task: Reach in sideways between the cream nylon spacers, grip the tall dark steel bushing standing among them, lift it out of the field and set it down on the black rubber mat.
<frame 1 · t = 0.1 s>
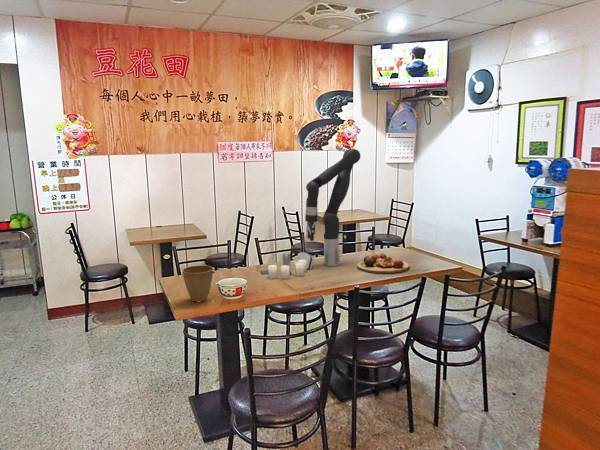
hand: (310, 239, 275), 17 cm above the table, tool pointing down, fingers open, 8 cm apart
spacer 2: (272, 277, 254), on the table
spacer 1: (299, 275, 257), on the table
spacer 3: (302, 271, 265), on the table
plant pot: (199, 300, 217), on the table
bushing: (287, 274, 260), on the table
mat: (267, 272, 265), on the table
spacer 4: (285, 278, 252), on the table
wooden plate with food: (382, 268, 270), on the table
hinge: (303, 267, 277), on the table
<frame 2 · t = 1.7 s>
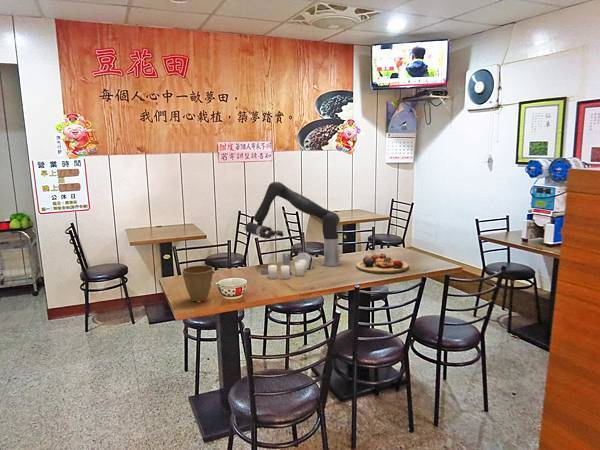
hand: (276, 235, 266), 22 cm above the table, tool horizontal, fingers open, 8 cm apart
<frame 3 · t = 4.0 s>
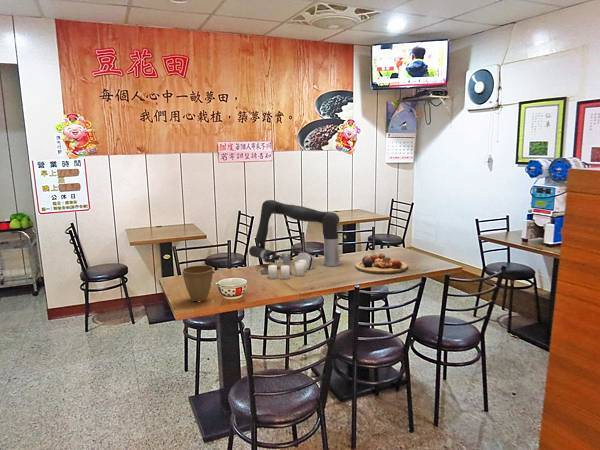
hand: (280, 260, 265), 7 cm above the table, tool horizontal, fingers open, 8 cm apart
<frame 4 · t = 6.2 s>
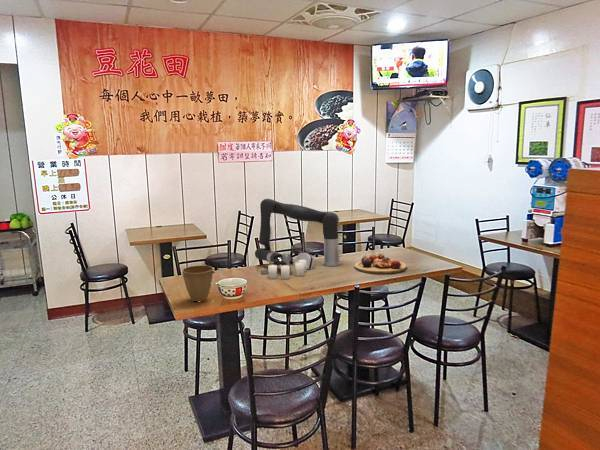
hand: (288, 263, 257), 7 cm above the table, tool horizontal, fingers closed on bushing, 4 cm apart
bushing: (287, 274, 260), on the table, touching gripper
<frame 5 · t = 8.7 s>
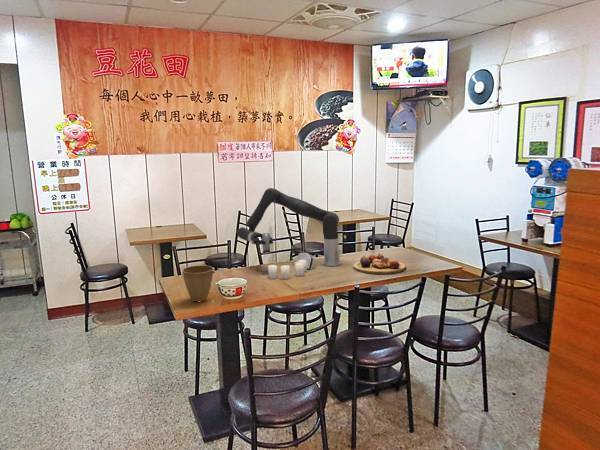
hand: (268, 242, 260), 19 cm above the table, tool horizontal, fingers closed on bushing, 4 cm apart
bushing: (266, 253, 263), point 12 cm above the table, touching gripper
when the fingers open (8 cm above the table, at t = 11.1 s): bushing stays where it is, resting on mat.
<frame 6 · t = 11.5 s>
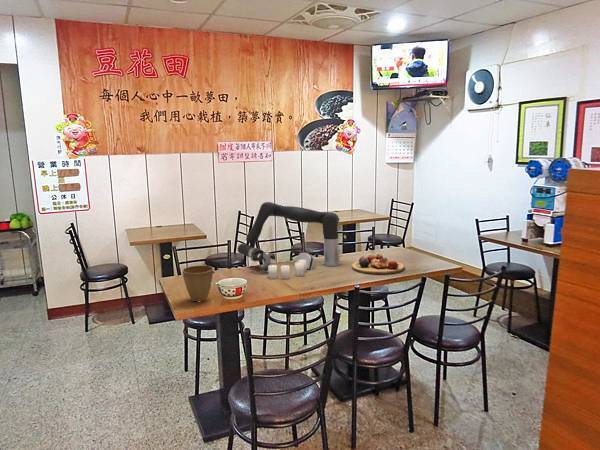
hand: (268, 259, 262), 9 cm above the table, tool horizontal, fingers open, 8 cm apart
bushing: (267, 271, 265), resting on mat
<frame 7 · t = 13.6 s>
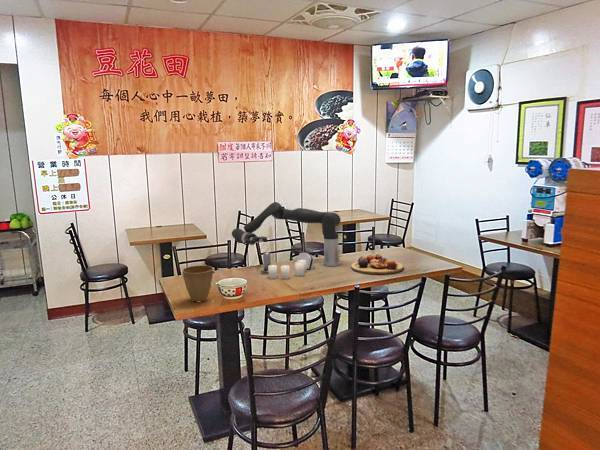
hand: (260, 241, 272), 17 cm above the table, tool horizontal, fingers open, 8 cm apart
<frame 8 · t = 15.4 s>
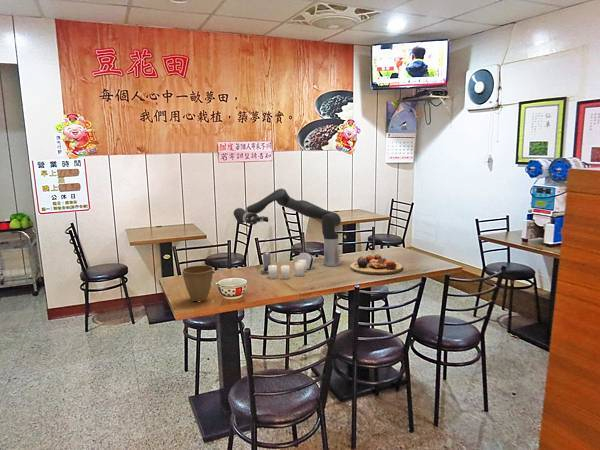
hand: (261, 221, 272), 30 cm above the table, tool horizontal, fingers open, 8 cm apart
at the end: bushing inside the target area on the mat (0.1 cm from its centre), point 0.4 cm above the mat's base; bushing tilted 0°; the gripper is holding nothing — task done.
